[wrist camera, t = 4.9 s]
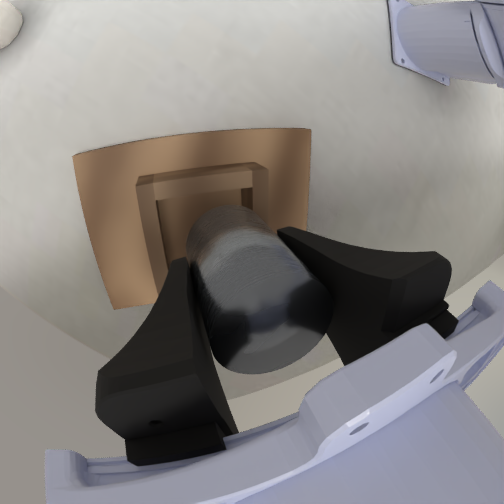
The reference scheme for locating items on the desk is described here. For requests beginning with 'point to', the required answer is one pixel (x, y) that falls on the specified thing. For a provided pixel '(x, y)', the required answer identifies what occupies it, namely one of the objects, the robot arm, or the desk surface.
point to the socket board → (183, 197)
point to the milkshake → (9, 23)
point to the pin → (254, 292)
